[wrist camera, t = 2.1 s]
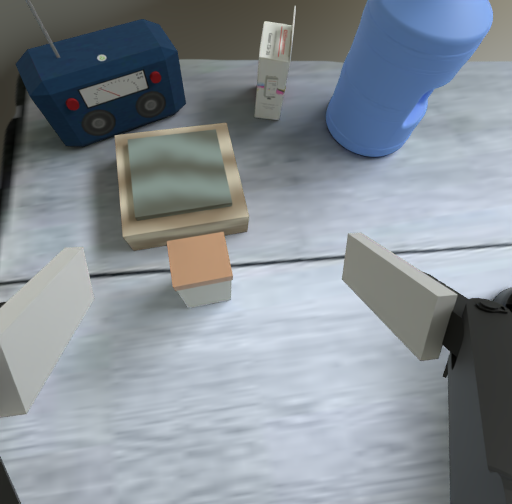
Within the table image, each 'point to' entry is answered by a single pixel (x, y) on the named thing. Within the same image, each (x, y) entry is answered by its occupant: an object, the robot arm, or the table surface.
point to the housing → (201, 269)
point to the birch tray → (178, 185)
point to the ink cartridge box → (273, 68)
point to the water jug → (401, 68)
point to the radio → (104, 80)
